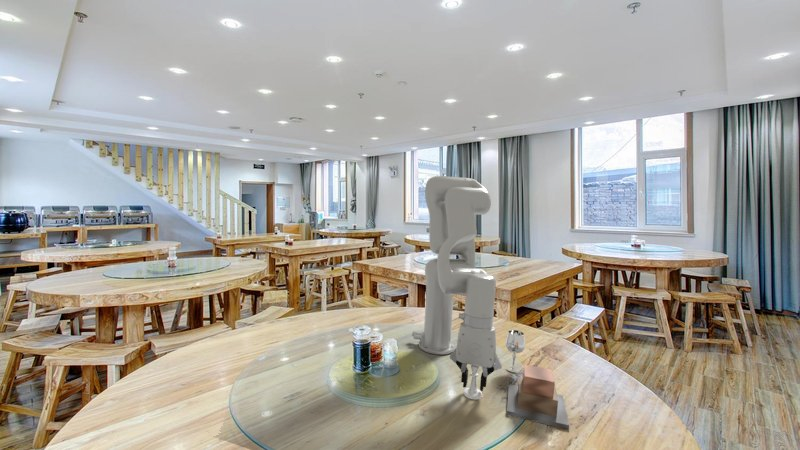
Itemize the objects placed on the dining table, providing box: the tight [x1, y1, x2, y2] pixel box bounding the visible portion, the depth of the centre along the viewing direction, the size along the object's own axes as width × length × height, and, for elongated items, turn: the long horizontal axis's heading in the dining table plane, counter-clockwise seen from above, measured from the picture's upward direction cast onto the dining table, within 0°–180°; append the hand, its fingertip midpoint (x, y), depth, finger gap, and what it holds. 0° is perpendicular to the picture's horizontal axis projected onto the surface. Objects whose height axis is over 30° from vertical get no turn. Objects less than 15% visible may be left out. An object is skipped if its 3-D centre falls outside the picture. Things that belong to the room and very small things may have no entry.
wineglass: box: [505, 329, 526, 370], centre depth 112 cm, size 6×6×12 cm
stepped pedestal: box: [506, 364, 570, 430], centre depth 92 cm, size 14×14×9 cm
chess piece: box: [463, 364, 483, 401], centre depth 96 cm, size 5×5×10 cm
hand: (473, 386), depth 96 cm, fingers open, 3 cm apart
